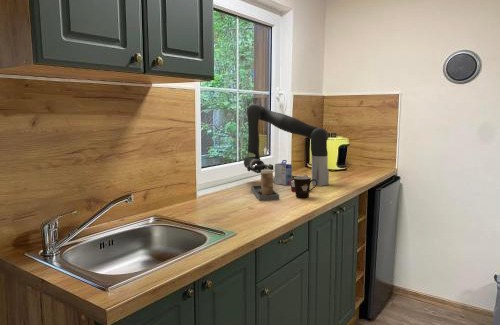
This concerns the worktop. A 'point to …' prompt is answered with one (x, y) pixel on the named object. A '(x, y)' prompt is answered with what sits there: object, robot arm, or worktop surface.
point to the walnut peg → (267, 182)
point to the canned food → (294, 186)
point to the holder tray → (257, 193)
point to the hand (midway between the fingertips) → (262, 169)
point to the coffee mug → (303, 186)
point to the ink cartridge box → (283, 173)
